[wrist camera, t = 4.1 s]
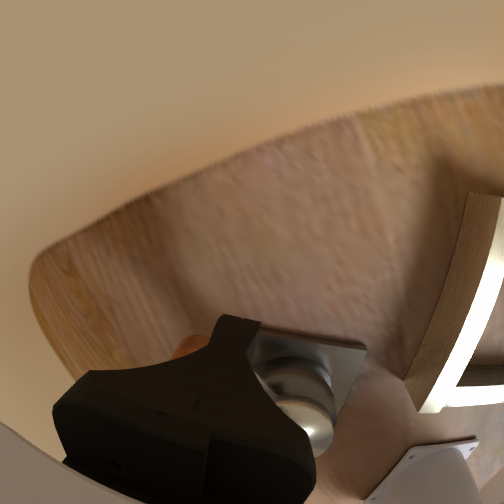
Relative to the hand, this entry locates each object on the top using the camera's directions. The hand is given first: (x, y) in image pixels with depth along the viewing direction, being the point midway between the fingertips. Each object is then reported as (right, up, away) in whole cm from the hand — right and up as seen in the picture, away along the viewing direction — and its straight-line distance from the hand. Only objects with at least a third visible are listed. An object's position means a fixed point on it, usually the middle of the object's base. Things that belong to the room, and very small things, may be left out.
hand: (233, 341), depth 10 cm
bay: (+21, -1, +3) cm, 21 cm away
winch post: (+3, -4, +6) cm, 8 cm away
